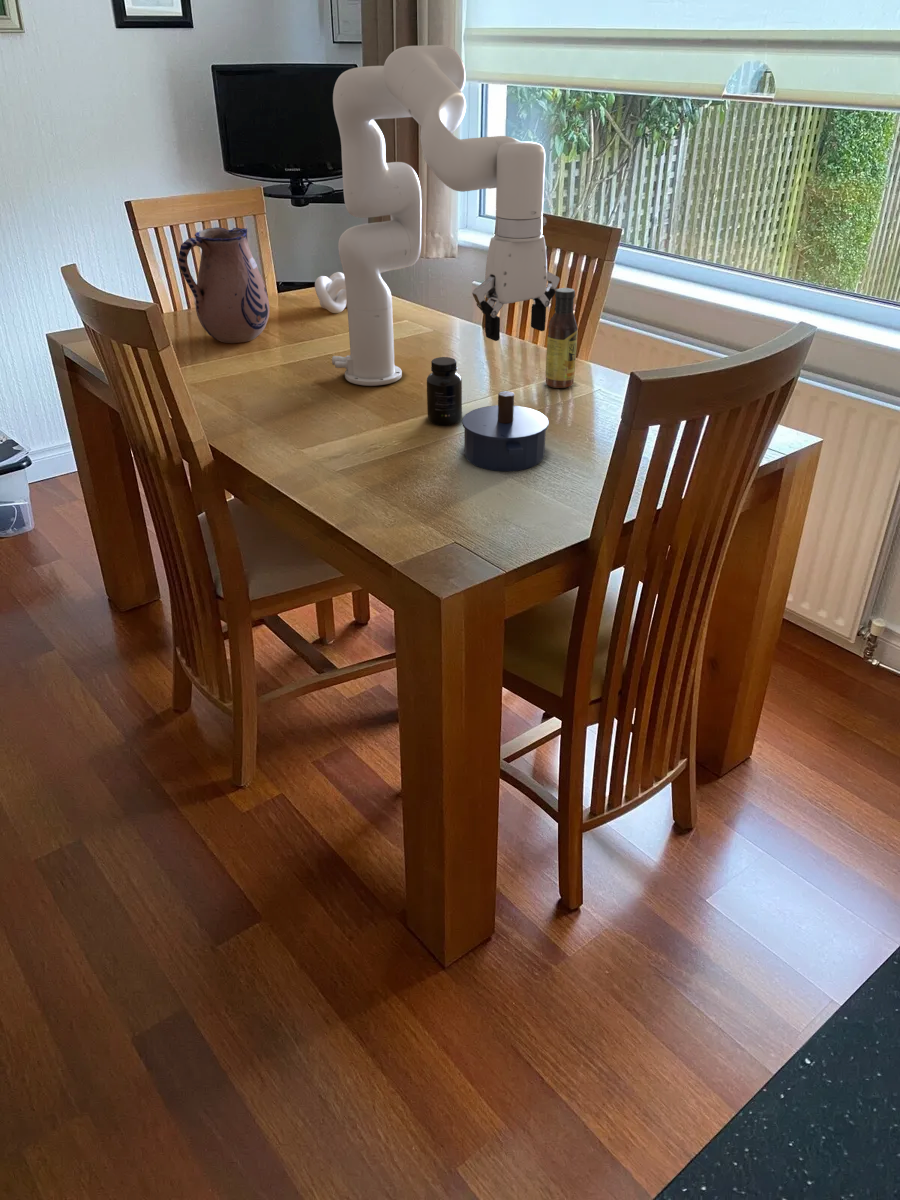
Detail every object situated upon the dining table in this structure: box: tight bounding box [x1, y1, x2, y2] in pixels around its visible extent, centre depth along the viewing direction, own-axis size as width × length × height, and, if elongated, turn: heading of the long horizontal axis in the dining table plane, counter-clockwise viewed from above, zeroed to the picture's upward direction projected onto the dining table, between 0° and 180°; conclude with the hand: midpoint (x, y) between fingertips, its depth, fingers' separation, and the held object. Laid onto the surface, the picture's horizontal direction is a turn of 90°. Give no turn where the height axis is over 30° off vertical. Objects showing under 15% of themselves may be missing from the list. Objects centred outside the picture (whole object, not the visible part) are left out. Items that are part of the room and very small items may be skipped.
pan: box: [463, 427, 547, 472], centre depth 161 cm, size 14×20×6 cm
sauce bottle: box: [545, 287, 579, 389], centre depth 188 cm, size 7×6×20 cm
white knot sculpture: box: [314, 271, 347, 314], centre depth 240 cm, size 11×12×9 cm
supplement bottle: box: [426, 356, 463, 427], centre depth 174 cm, size 7×7×12 cm
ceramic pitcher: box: [178, 226, 271, 344], centre depth 214 cm, size 18×21×25 cm
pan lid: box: [461, 390, 550, 441], centre depth 158 cm, size 15×15×6 cm
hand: (515, 334), depth 154 cm, fingers open, 9 cm apart
